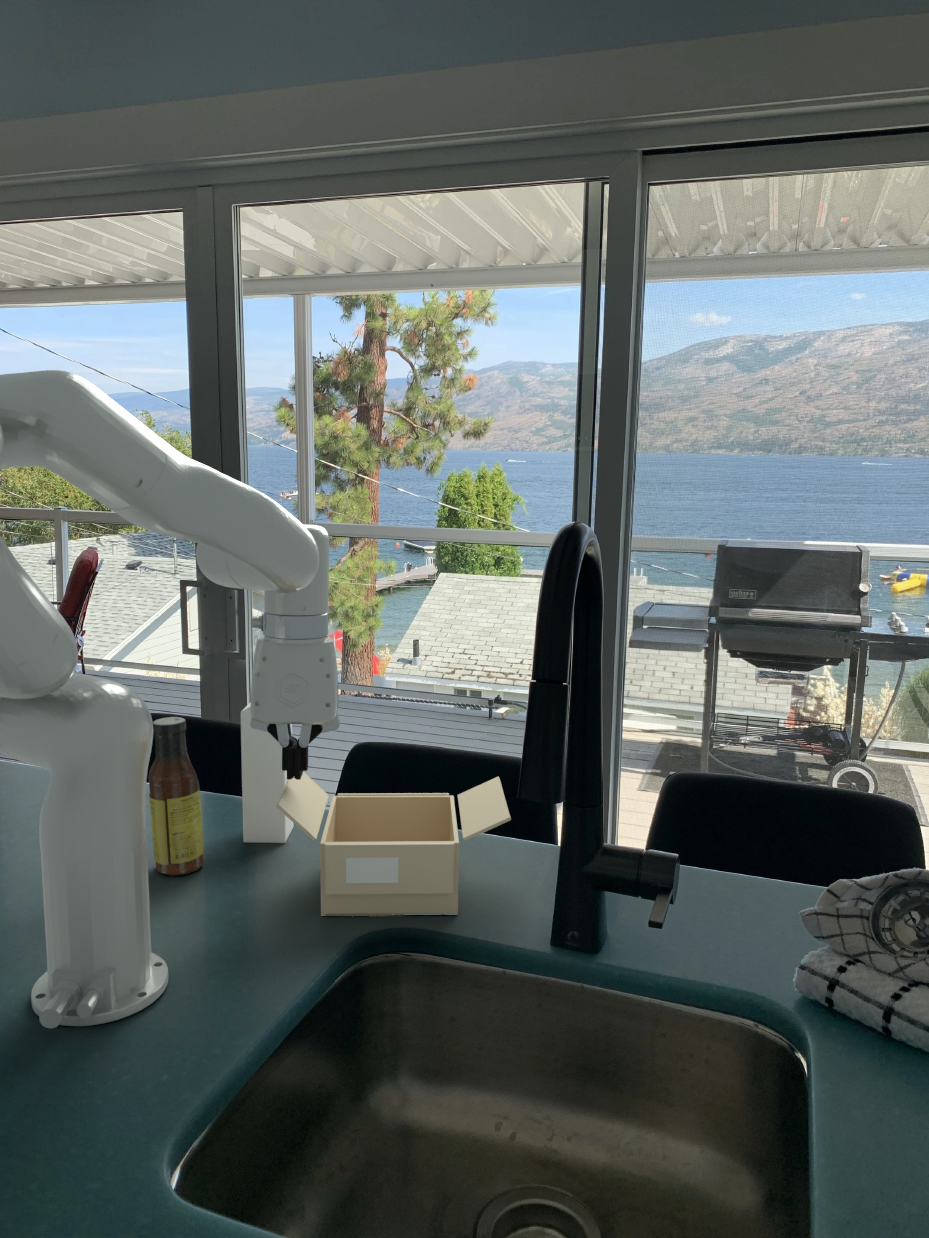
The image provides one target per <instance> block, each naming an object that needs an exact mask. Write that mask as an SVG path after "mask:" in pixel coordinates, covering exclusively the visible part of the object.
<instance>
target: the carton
mask: <svg viewBox="0 0 929 1238" xmlns="http://www.w3.org/2000/svg"><path fill="white" fill-rule="evenodd" d="M455 805H456V804H455V796H454V795H450V793H448V792H442V793H441V792H432V793H431V792H430V793H429V792H422V793H421V792H418V793H417V792H413V793H412V792H408V793H407V792H405V793H404V792H403V793H400V792H398V793H397V792H396V793H392V792H391V793H390V792H389V793H388V792H387V793H384V792H382V793H380V792H379V793H376V792H375V793H374V792H373V793H372V792H371V793H369V792H368V793H366V792H365V793H360V792H359V793H355V792H353V793H347V792H346V793H343V792H341V793H337V795H333V796H332V798H331V802H330V805H329V811H328V814H327V817H326V821H325V824H324V829H323V832H322V836H321V840H320V843H319V846H320V848H319V851H320V852H319V853H320V855H319V856H320V859H319V860H320V861H319V862H320V863H319V864H320V867H319V868H320V917H321V916H352V917H351V918H353V916H369V917H376V916H375V915H392V914H394V915H404V914H444V913H447V914H458V915H459V871H460V870H459V869H460V868H459V867H460V866H459V864H460V862H459V861H460V860H459V859H460V858H459V857H460V855H459V854H460V840H459V832H458V823H457V813H456V806H455Z"/></svg>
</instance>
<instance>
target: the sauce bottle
mask: <svg viewBox="0 0 929 1238" xmlns="http://www.w3.org/2000/svg"><path fill="white" fill-rule="evenodd" d="M186 721H187V720H186V719H185V718H183V717H179V716H169V717H168V716H167V717H162V718H158V719H155V720H154V721H152V722H153V735H154V739H155V740H154V741H155V743H154V744H155V751H154V752H155V758H154V761H153V763H152V764H151V767H150V769H149V773H148V783H149V784H148V786H149V794H148V797H149V808H150V811H149V813H150V823H151V835H152V836H151V837H152V838H151V839H152V848H153V849H152V850H153V860H154V861H155V867H156V870H157V872H158V873H159V874H162V875H163V874H164V875H167V876H171V877H172V876H183V875H187V874H191V873H193V872H196V871H197V870H199V869H200V868H201V867H202V866H203V864H204V851H205V847H204V833H203V821H202V819H203V818H202V804H201V793H200V791H201V790H200V781H199V778H198V775H197V773H196V770H195V768H194V766H193V765H192V763H191V759H190V757H189V754H188V747H187V738H186V731H187V723H186Z"/></svg>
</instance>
